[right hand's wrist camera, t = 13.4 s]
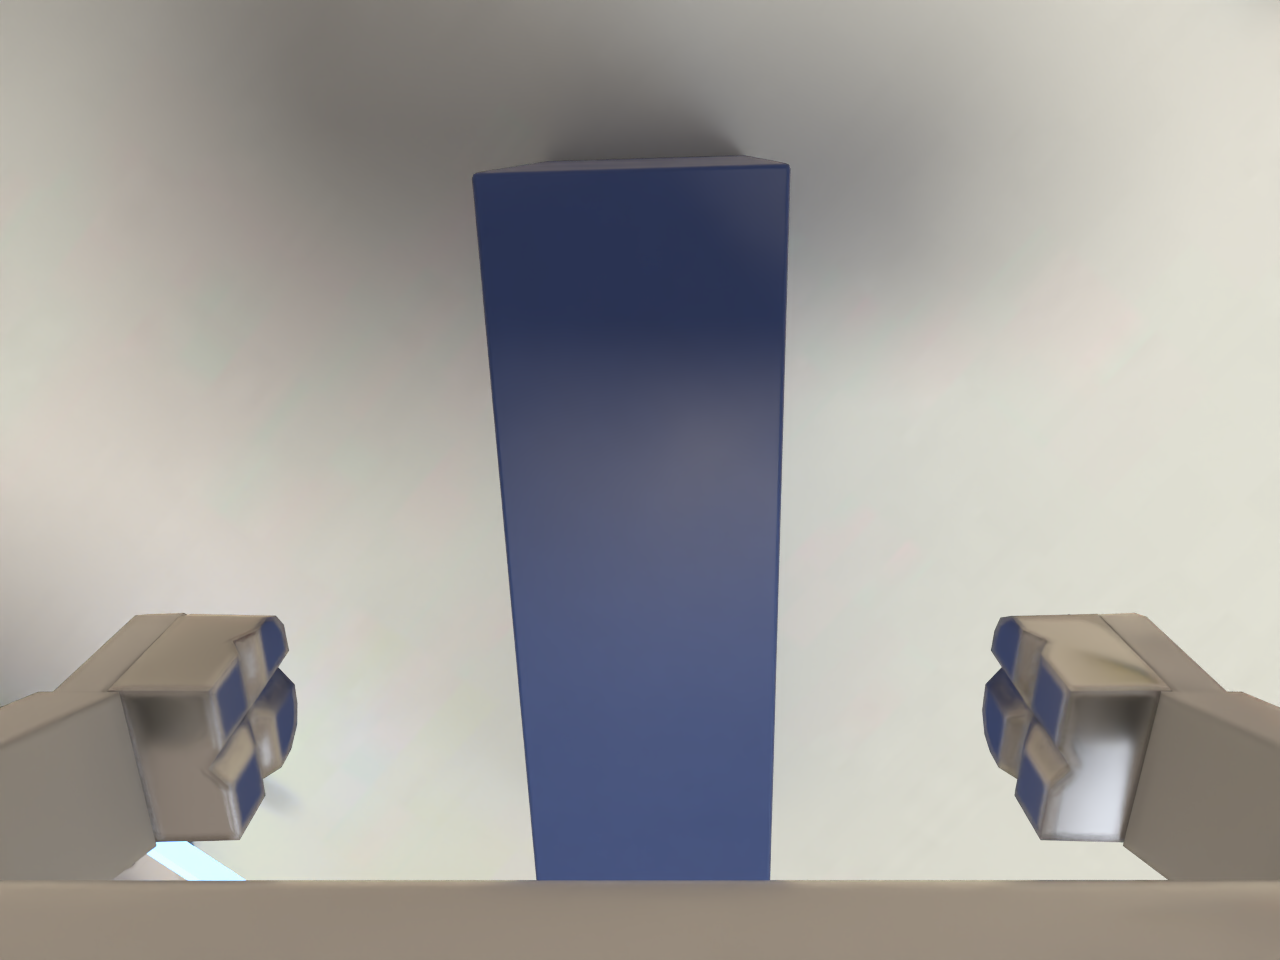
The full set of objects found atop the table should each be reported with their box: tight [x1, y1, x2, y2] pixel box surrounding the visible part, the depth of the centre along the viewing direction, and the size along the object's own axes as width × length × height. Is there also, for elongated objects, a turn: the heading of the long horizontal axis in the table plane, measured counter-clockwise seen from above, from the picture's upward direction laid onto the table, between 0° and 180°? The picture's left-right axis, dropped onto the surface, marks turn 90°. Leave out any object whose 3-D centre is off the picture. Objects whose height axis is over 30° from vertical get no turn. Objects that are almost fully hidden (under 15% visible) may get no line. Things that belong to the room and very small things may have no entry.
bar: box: [472, 155, 790, 880], centre depth 24 cm, size 23×6×10 cm, turn 2°
